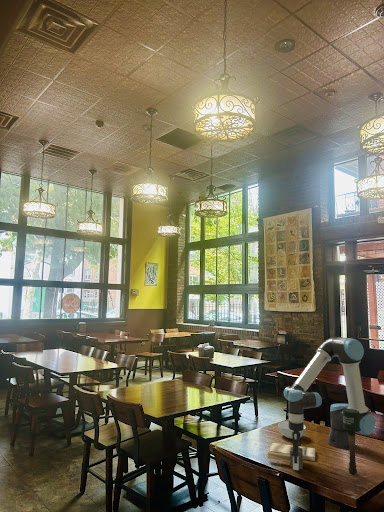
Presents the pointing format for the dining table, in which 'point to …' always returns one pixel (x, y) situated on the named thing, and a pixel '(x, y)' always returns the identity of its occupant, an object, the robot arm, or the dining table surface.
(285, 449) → the maple board
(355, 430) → the stick grenade
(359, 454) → the dining table surface
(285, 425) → the cereal bowl
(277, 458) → the marking gauge
